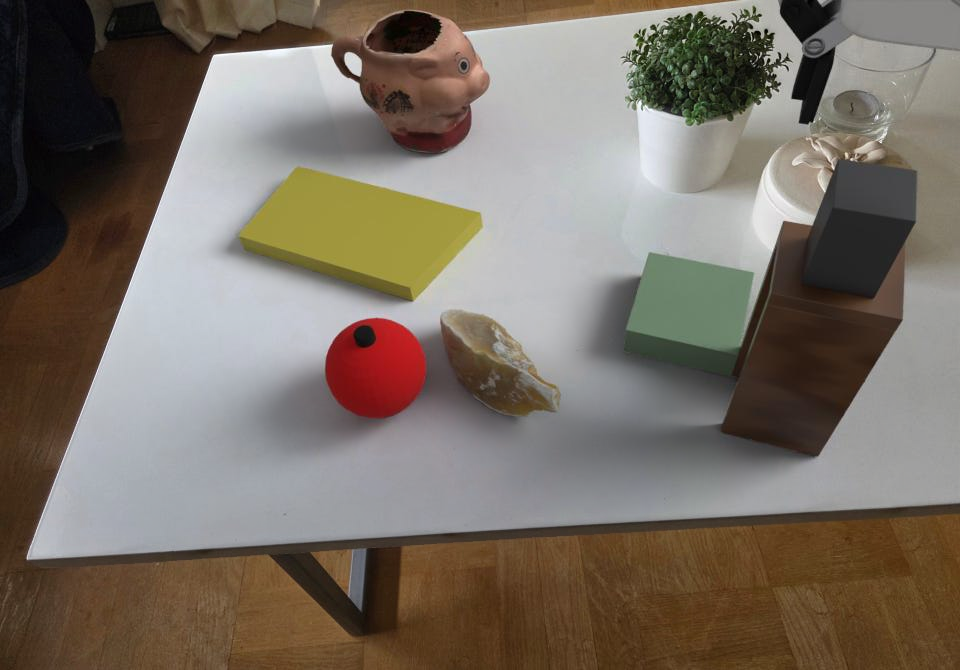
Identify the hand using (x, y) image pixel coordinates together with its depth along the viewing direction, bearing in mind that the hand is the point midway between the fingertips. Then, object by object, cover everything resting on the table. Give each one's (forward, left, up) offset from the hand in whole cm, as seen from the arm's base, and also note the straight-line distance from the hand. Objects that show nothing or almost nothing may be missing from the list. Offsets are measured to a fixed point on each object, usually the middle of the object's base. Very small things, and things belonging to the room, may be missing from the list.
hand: (900, 122), depth 40 cm
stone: (+24, +4, -31) cm, 39 cm away
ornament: (+34, +9, -31) cm, 47 cm away
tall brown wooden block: (0, 0, -31) cm, 31 cm away
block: (0, 0, -12) cm, 12 cm away
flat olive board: (+45, -9, -31) cm, 55 cm away
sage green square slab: (+9, -7, -31) cm, 33 cm away
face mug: (+46, -28, -31) cm, 62 cm away
